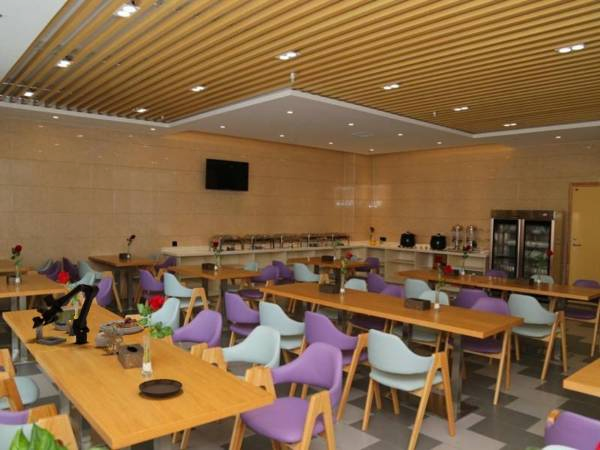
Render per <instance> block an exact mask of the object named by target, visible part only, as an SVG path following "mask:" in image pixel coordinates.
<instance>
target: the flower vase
mask: <svg viewBox="0 0 600 450" xmlns="http://www.w3.org/2000/svg"><path fill="white" fill-rule="evenodd" d="M110 325H111V324H110ZM111 326H112V325H111ZM112 328H113V332H114V331H115V332H114V333H113V332H112V333H111V332H110V330H108V331H106V330H105V329H104V332H102V331H101V332H98V334H96V335H95V338H94V342H95V345H96V346H98V347H100V348H105V347H107V346H108V348H109V349H111V348H112V349H111V350H109V351H108V352H107V355H110V354H113V355H117V351H118V348H119V347H118V346H120V347H121V343H123V342H124V338H123V336H124V334H123V333H121V332H122V329H121V331H120V328H116V326H115V325H113V326H112ZM117 331H120V333H119V335H117ZM118 339H119V340H120V341H117V340H118ZM115 346H116V348H115ZM117 347H118V348H117Z"/></svg>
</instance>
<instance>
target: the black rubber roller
mask: <svg viewBox="0 0 600 450" xmlns="http://www.w3.org/2000/svg"><path fill="white" fill-rule="evenodd" d="M72 326H73V325H70V334H69V337H76V335H74V331H73V329H72Z"/></svg>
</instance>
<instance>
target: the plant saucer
mask: <svg viewBox="0 0 600 450" xmlns="http://www.w3.org/2000/svg"><path fill="white" fill-rule="evenodd" d="M182 388H183V383H182V382H181V381H179V380H176V379H171V378H155V379H150V380H146V381H143V382H141V383H140V384H139V385H138V390H139V391H140V392H141V394H143V395H144V396H147V397H150V398H168V397H171V396H174V395H176V394H177V393H179V392H180V391H181V389H182Z"/></svg>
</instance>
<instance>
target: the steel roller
mask: <svg viewBox="0 0 600 450" xmlns="http://www.w3.org/2000/svg"><path fill="white" fill-rule="evenodd" d="M43 324H44V323H43ZM43 324H42V325H41V326H39V327H37V328H35V339H36V340H41V339H44V338H43V337H44V336H43V332H44V331H43V330H44V329H43V327H44V326H43Z"/></svg>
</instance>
